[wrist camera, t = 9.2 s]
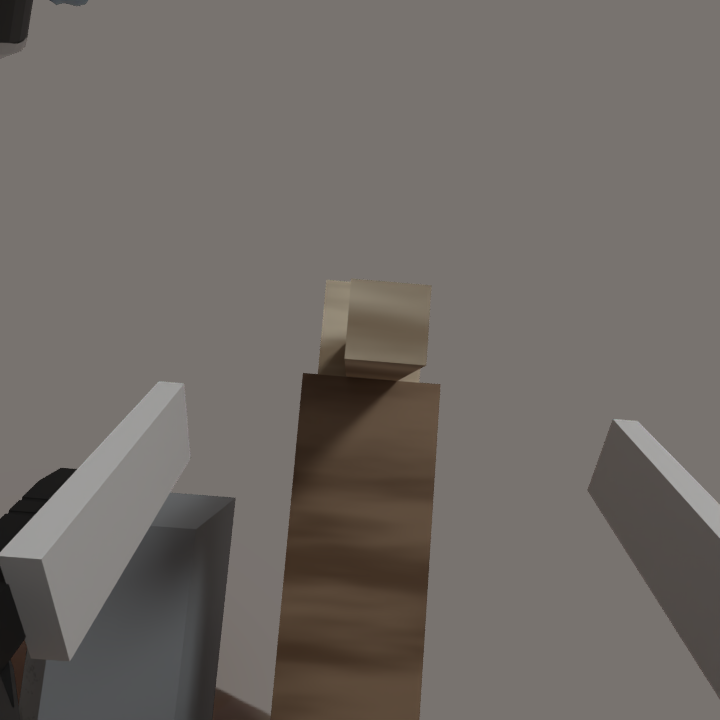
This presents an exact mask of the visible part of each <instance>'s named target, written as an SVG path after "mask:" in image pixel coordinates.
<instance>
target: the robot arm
mask: <svg viewBox="0 0 720 720" xmlns="http://www.w3.org/2000/svg"><path fill="white" fill-rule="evenodd" d="M50 1H52V2H53V3H55V4H56V5H58V4H62V3H66V4H70V5H74V6H80V5H84V4H86V3H87V1H88V0H50ZM32 3H33V0H0V58H3V57H6V56H9V55H11V54H14V53H17V52H19V51H21V50H22V49H23V48H24V47H25V45H26V40H27V35H28V29H29V22H30V15H31V9H32ZM190 458H191V457H190V445H189V434H188V423H187V411H186V399H185V387H184V384H183V383H172V382H161V381H159V382H158V383H157V384H156V385H155V386H154V387H153V388H152V389H151V391H150V392H149V393H148V394H147V395H146V396H145V397H144V398H143V399H142V400H141V401H140V402H139V403H138V404H137V406H136V407H135V408H134V409H133V410H132V411H131V412H130V413H129V414H128V415H127V417H125V418H124V419H123V421H122V422H121V423H120V424H119V425H118V426H117V427H116V428H115V429H114V430H113V431H112V432H111V433H110V435H109V436H108V437H107V438H106V439H105V440H104V441H103V442H102V443H101V444H100V445H99V446H98V448H97V449H96V450H95V451H94V452H93V453H92V454H91V455H90V456H89V457H88V459H86V460H85V462H84V463H83V464H82V465H81V466H80V467H79V468H78V469H68V468H60V469H58V470H57V471H55V472H53V473H51V474H50V475H48V476H46V477H45V478H43V479H41V480H40V481H38V482H37V483H36V484H35V485H34V486H33V487H32V488H31V489H30V490H29V491H28V492H27V493H26V494H25V495H24V496H23V497H22V500H19V501H18V502H17V503H16V504H15V505H14V506H13V507H12V508H11V509H10V510H9V513H8V514H5V515H4V516H3V517H2V518H1V519H0V720H20V714H19V706H18V699H17V691H16V683H15V676H14V668H13V666H12V663H11V660H10V659H11V657H12V656H13V655H14V653H15V652H16V650H17V649H18V648H19V646H20V645H21V643H22V642H23V641H24V639H25V642H26V645H27V648H28V651H29V654H30V657H31V659H44V660H57V661H70V660H71V659H72V657H73V655H74V654H75V652H76V650H77V649H78V647H79V645H80V644H81V642H82V640H83V639H84V637H85V635H86V633H87V632H88V630H89V628H90V627H91V625H92V623H93V622H94V620H95V618H96V617H97V615H98V613H99V612H100V610H101V608H102V607H103V605H104V603H105V601H106V600H107V598H108V596H109V595H110V593H111V591H112V590H113V588H114V586H115V585H116V583H117V581H118V580H119V578H120V576H121V574H122V573H123V571H124V569H125V568H126V566H127V564H128V563H129V561H130V559H131V558H132V556H133V554H134V553H135V551H136V549H137V548H138V546H139V544H140V542H141V541H142V539H143V537H144V536H145V534H146V532H147V531H148V529H149V527H150V526H151V524H152V522H153V521H154V519H155V517H156V515H157V514H158V512H159V510H160V509H161V507H162V505H163V504H164V502H165V500H166V499H167V497H168V495H169V494H170V492H171V490H172V489H173V487H174V485H175V483H176V482H177V480H178V478H179V477H180V475H181V473H182V471H183V470H184V468H185V467H186V465H187V463H188V461H189V460H190ZM588 492H589V493H590V495H591V497H592V498H593V500H594V501H595V503H596V505H597V506H598V508H599V509H600V511H601V513H602V514H603V516H604V517H605V519H606V520H607V522H608V523H609V525H610V527H611V528H612V530H613V531H614V533H615V535H616V536H617V538H618V539H619V541H620V543H621V544H622V546H623V547H624V549H625V550H626V552H627V553H628V555H629V557H630V558H631V560H632V561H633V563H634V565H635V566H636V568H637V569H638V571H639V573H640V574H641V576H642V577H643V579H644V580H645V582H646V584H647V585H648V587H649V588H650V590H651V591H652V593H653V595H654V596H655V598H656V599H657V601H658V602H659V604H660V606H661V607H662V609H663V610H664V612H665V614H666V615H667V617H668V618H669V620H670V621H671V623H672V624H673V626H674V628H675V629H676V631H677V632H678V634H679V636H680V637H681V639H682V640H683V642H684V643H685V645H686V646H687V648H688V650H689V651H690V653H691V654H692V656H693V658H694V659H695V661H696V662H697V664H698V666H699V667H700V669H701V670H702V672H703V674H704V675H705V677H706V678H707V680H708V681H709V683H710V685H711V686H712V687H713V689H714V691H715V692H716V694H717V696H718V697H719V699H720V504H719V503H718V502H717V501H716V500H715V499H714V498H713V497H712V496H711V495H710V494H709V493H708V492H707V491H706V490H705V489H704V488H703V487H702V486H701V485H700V484H699V483H698V482H697V481H696V480H695V479H694V478H693V477H692V476H691V475H690V474H689V473H688V472H687V471H686V470H685V469H684V468H683V467H682V466H681V465H680V464H679V463H678V462H677V461H676V460H675V459H674V458H673V457H672V456H671V455H670V454H669V453H668V452H667V451H666V450H665V448H664V447H663V446H662V445H661V444H659V442H658V441H657V440H656V439H655V438H654V437H653V436H652V435H651V434H650V433H649V432H648V431H647V430H646V429H645V428H644V427H643V426H642V425H641V424H640V423H639V422H638V421H629V420H618V419H613V420H612V423H611V426H610V429H609V431H608V434H607V437H606V440H605V442H604V445H603V448H602V451H601V454H600V456H599V460H598V462H597V465H596V468H595V470H594V473H593V476H592V479H591V482H590V484H589V487H588Z"/></svg>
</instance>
